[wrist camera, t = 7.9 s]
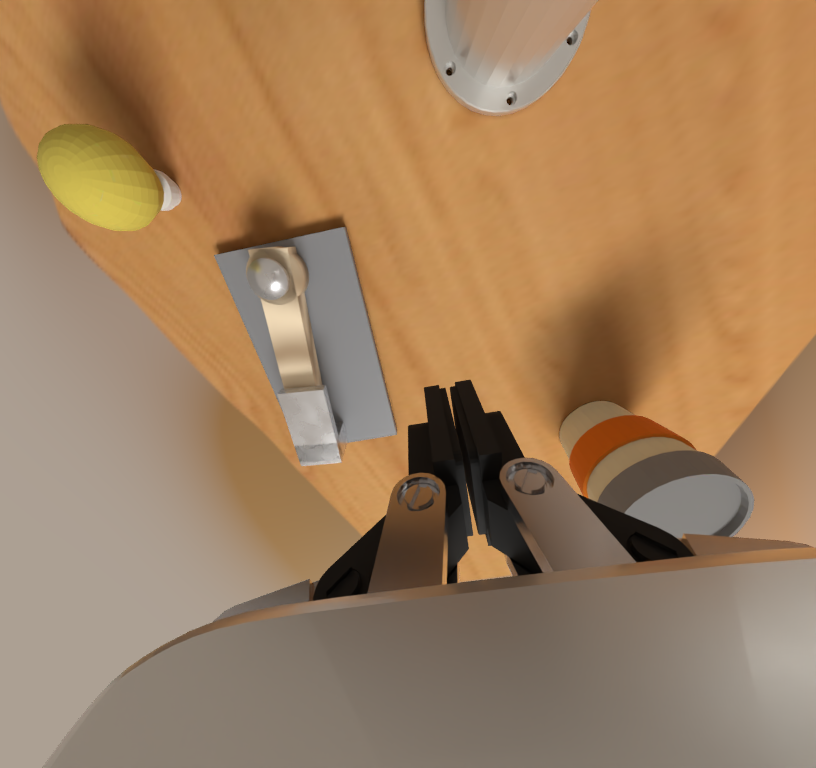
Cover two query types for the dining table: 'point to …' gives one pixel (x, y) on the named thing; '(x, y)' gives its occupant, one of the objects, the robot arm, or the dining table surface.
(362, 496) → the dining table surface
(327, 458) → the block
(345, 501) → the dining table surface
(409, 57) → the dining table surface
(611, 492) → the reusable coffee cup
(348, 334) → the base board
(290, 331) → the arm link
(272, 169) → the dining table surface
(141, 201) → the light bulb
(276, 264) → the pin cap
